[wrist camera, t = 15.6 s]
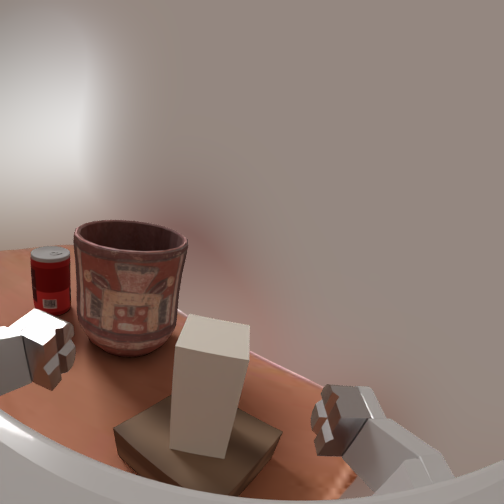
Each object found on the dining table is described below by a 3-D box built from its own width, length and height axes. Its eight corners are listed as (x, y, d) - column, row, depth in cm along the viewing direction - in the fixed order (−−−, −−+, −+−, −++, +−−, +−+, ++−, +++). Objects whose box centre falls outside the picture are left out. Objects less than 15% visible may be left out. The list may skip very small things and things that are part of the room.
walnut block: (208, 525, 17) (214, 507, 16) (118, 455, 23) (113, 428, 22) (271, 457, 28) (282, 431, 26) (189, 409, 33) (193, 381, 32)
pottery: (61, 322, 43) (59, 221, 38) (139, 305, 57) (147, 217, 53) (107, 385, 33) (103, 258, 29) (198, 349, 47) (214, 246, 43)
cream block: (224, 458, 22) (249, 360, 19) (169, 448, 22) (175, 345, 19) (227, 422, 27) (249, 325, 24) (179, 413, 26) (189, 313, 24)
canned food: (78, 308, 49) (78, 253, 47) (48, 321, 42) (44, 262, 39) (56, 294, 51) (55, 243, 48) (27, 305, 44) (23, 250, 41)
